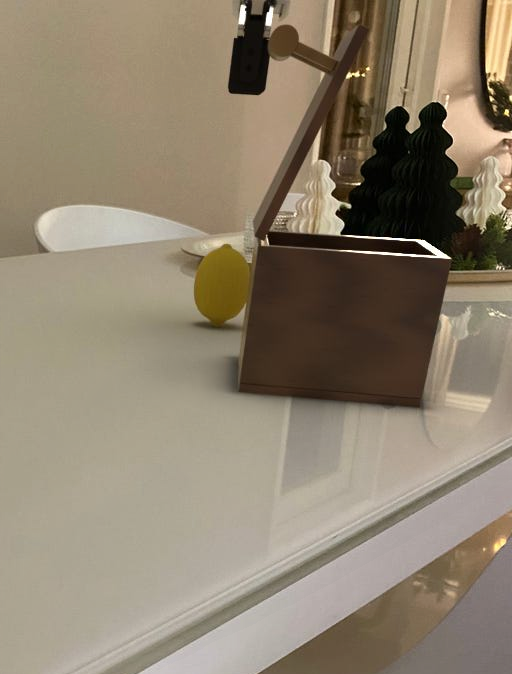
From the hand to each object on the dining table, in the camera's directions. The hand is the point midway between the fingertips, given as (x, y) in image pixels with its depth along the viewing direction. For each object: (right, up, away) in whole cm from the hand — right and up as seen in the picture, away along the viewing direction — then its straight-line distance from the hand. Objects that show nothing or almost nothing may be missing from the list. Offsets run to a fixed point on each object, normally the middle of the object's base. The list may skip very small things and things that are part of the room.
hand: (245, 93), depth 94 cm
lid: (+1, -12, -16) cm, 20 cm away
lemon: (-1, -18, +12) cm, 21 cm away
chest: (+4, -28, -9) cm, 30 cm away
